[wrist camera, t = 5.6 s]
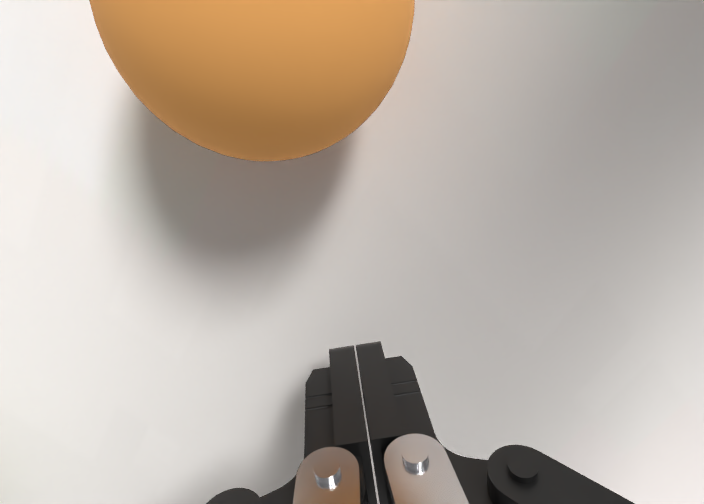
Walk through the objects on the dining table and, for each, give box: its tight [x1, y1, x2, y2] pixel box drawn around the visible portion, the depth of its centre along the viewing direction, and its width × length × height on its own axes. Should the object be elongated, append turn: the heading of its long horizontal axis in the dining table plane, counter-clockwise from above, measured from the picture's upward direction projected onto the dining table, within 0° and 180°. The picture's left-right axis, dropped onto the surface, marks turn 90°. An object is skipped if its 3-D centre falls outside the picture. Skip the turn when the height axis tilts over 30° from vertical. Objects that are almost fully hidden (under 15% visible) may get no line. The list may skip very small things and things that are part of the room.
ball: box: [90, 0, 414, 161], centre depth 8 cm, size 6×6×6 cm
